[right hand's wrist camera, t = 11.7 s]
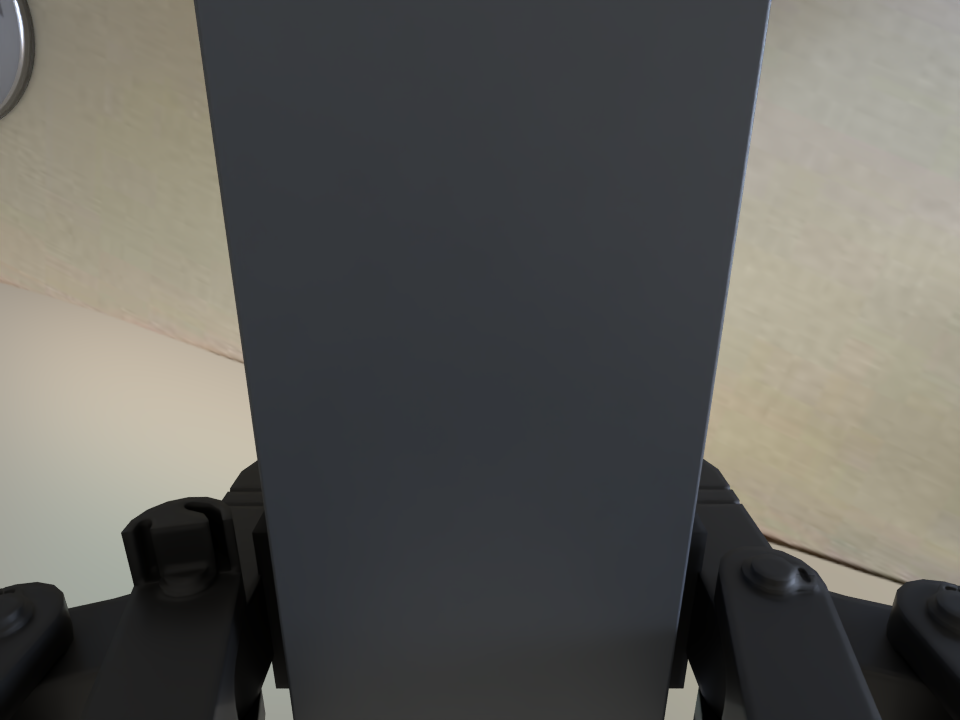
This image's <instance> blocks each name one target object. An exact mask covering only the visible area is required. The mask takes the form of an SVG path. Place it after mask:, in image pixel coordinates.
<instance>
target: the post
mask: <svg viewBox="0 0 960 720" xmlns="http://www.w3.org/2000/svg"><path fill="white" fill-rule="evenodd" d="M194 5H195V12H196V20H197V27H198V34H199V41H200V48H201V56H202V63H203V70H204V77H205V85H206V92H207V99H208V106H209V113H210V121H211V128H212V135H213V142H214V149H215V157H216V164H217V171H218V178H219V186H220V193H221V200H222V207H223V214H224V222H225V229H226V236H227V243H228V250H229V258H230V265H231V272H232V279H233V286H234V294H235V301H236V308H237V315H238V323H239V330H240V337H241V344H242V351H243V359H244V366H245V373H246V380H247V387H248V395H249V402H250V409H251V416H252V424H253V431H254V438H255V445H256V452H257V460H258V467H259V474H260V481H261V488H262V496H263V503H264V510H265V517H266V525H267V532H268V539H269V546H270V553H271V561H272V568H273V575H274V582H275V589H276V597H277V604H278V611H279V618H280V625H281V633H282V640H283V647H284V654H285V662H286V669H287V676H288V683H289V690H290V698H291V705H292V712H293V719H294V720H664V717H665V710H666V704H667V697H668V690H669V683H670V677H671V670H672V663H673V657H674V650H675V643H676V637H677V630H678V623H679V616H680V610H681V603H682V596H683V590H684V583H685V576H686V570H687V563H688V556H689V549H690V543H691V536H692V529H693V523H694V516H695V509H696V503H697V496H698V489H699V482H700V476H701V469H702V462H703V456H704V449H705V442H706V436H707V429H708V422H709V415H710V409H711V402H712V395H713V389H714V382H715V375H716V369H717V362H718V355H719V348H720V342H721V335H722V328H723V322H724V315H725V308H726V301H727V295H728V288H729V281H730V275H731V268H732V261H733V255H734V248H735V241H736V234H737V228H738V221H739V214H740V208H741V201H742V194H743V188H744V181H745V174H746V167H747V161H748V154H749V147H750V141H751V134H752V127H753V121H754V114H755V107H756V100H757V94H758V87H759V80H760V74H761V67H762V60H763V54H764V47H765V40H766V33H767V27H768V20H769V13H770V7H771V0H194Z"/></svg>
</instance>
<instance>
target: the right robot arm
mask: <svg viewBox="0 0 960 720" xmlns="http://www.w3.org/2000/svg"><path fill="white" fill-rule="evenodd" d="M34 52H35V42H34V30H33V24H32V19H31V15H30V10H29V7H28V4H27V1H26V0H0V119H1V118H3V117H4V116H6V115H7V114H8V113H9V112H10V111H11V110H12V109H13V108H14V107H15V105H16V104H17V103H18V102H19V100H20V99H21V97H22V95H23V94H24V92H25V90H26V88H27V85H28V83H29V80H30V77H31V73H32V69H33V63H34ZM121 534H122V538H123V542H124V546H125V551H126V555H127V559H128V563H129V567H130V571H131V575H132V579H133V583H134V587H133V590H132V592H131V594H129V595H125V596H122V597H118V598H114V599H110V600H105V601H101V602H96V603H92V604H87V605H82V606H78V607H73V608H68V607H67V604H66V601H65V597H64V594H63V592H62V591H60V590H59V589H58V588H57V587H56V586H55V585H52V584H45V583H40V582H33V583H25V584H16V585H12V586H9V587H5V588H3V589H0V720H265V708H264V701H263V695H262V689H261V688H262V685H263V682H264V680H265V677H266V675H267V672H268V670H269V667H270V664H271V662H272V664H273V671H274V677H275V684H276V688H289V683H288V676H287V669H286V662H285V654H284V647H283V640H282V633H281V625H280V618H279V611H278V604H277V597H276V589H275V582H274V575H273V568H272V561H271V553H270V546H269V539H268V532H267V525H266V517H265V510H264V503H263V496H262V488H261V481H260V474H259V467H258V460H257V461H256V462H254V463H253V464H252V465H250V466H249V467H247V468H246V469H244V470H243V471H242V472H241V473H240V475H239V476H238V477H237V479H236V480H235V482H234V483H233V485H232V486H231V488H230V492H227V494H226V495H225V497H224V498H223V500H222V501H221V500H217V499H213V498H209V497H187V498H183V499H178V500H173V501H168V502H165V503H163V504H160V505H158V506H155V507H153V508H151V509H148V510H146V511H145V512H143V513H142V514H140V515H139V516H137V517H136V518H134V519H133V520H131V521H130V523H129V524H128V525H127V526H126V528H125V529H124V530H123V531H122V532H121ZM688 660H689V662H690V665H691V667H692V670H693V673H694V675H695V678H696V680H697V683H698V686H699V689H698V695H697V701H696V707H695V713H694V719H693V720H960V586H957V585H955V584H951V583H947V582H943V581H934V580H925V579H922V580H916V581H910V582H906V583H905V584H904V585H902V586H901V587H900V588H899V589H898V590H897V592H896V596H895V599H894V602H893V606H890V605H886V604H881V603H876V602H872V601H867V600H862V599H857V598H853V597H848V596H844V595H841V594H837V593H834V592H830V591H828V589H827V586H826V584H825V583H824V582H823V580H822V579H821V577H820V576H819V574H818V573H817V572H816V571H815V570H814V569H812V568H811V567H810V566H808V565H807V564H806V563H805V562H803V561H802V560H800V559H798V558H796V557H794V556H792V555H789V554H787V553H785V552H783V551H779V550H775V549H772V547H771V546H770V544H769V543H768V541H767V540H766V538H765V537H764V535H763V534H762V533H761V531H760V530H759V528H758V527H757V525H756V524H755V522H754V521H753V519H752V518H751V516H750V515H749V514H748V512H747V511H746V509H745V508H744V506H743V505H742V504H740V502H739V499H738V497H737V496H736V494H735V493H734V492H733V490H730V486H729V484H728V483H727V481H726V480H725V478H724V477H723V475H722V474H721V472H720V471H719V470H718V469H717V468H716V467H714V466H713V465H711V464H710V463H708V462H707V461H706V460H704V459H703V462H702V469H701V476H700V482H699V489H698V496H697V503H696V509H695V516H694V523H693V529H692V536H691V543H690V549H689V556H688V563H687V570H686V576H685V583H684V590H683V596H682V603H681V610H680V616H679V623H678V630H677V637H676V643H675V650H674V657H673V663H672V670H671V677H670V683H669V688H684V681H685V675H686V669H687V662H688Z"/></svg>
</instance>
